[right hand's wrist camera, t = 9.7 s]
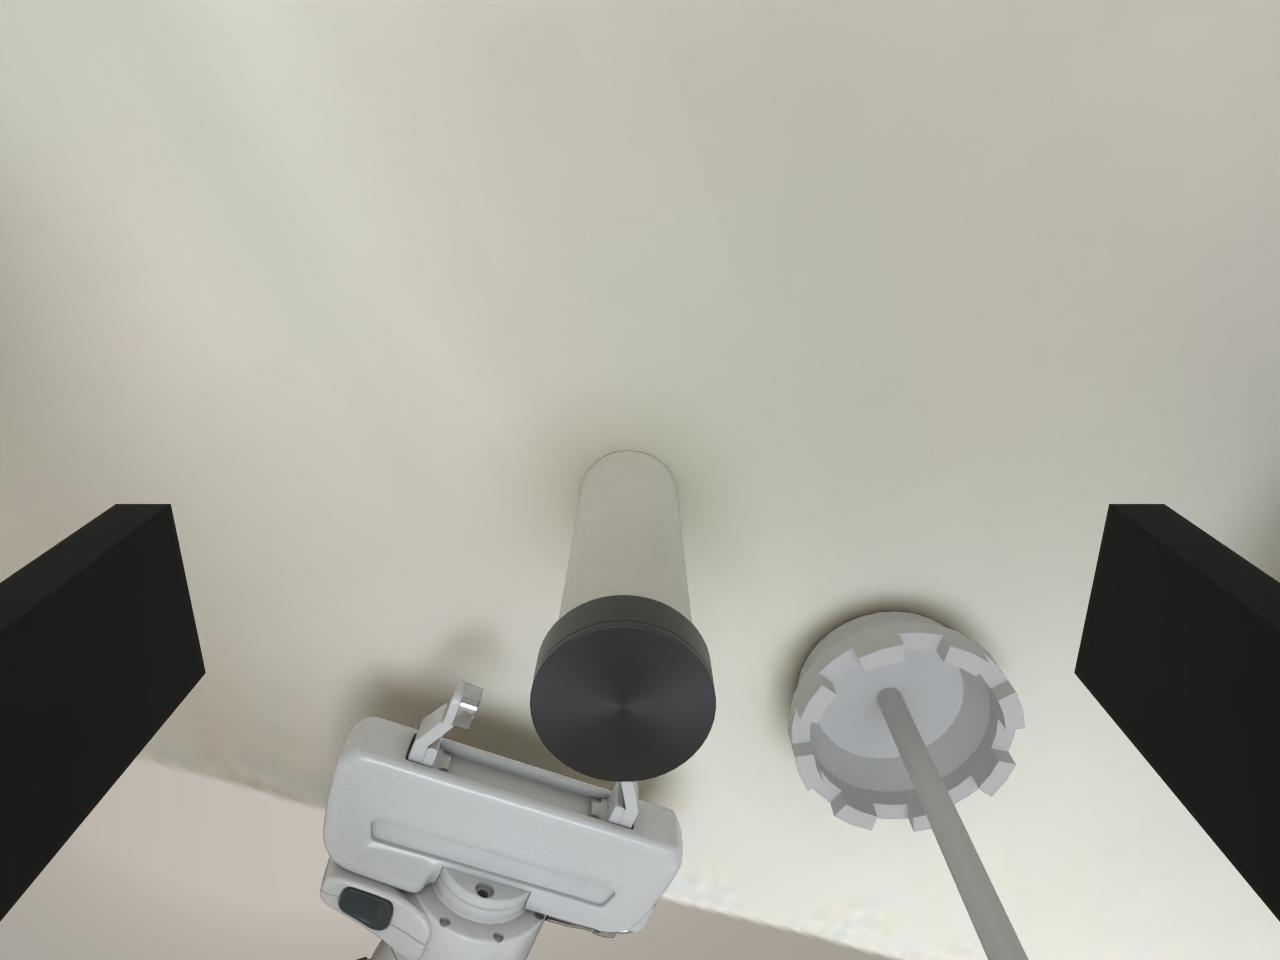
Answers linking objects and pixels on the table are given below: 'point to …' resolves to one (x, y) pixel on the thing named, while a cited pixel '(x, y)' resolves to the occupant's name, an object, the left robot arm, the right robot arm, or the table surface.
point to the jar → (627, 535)
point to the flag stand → (910, 740)
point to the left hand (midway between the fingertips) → (551, 717)
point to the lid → (623, 689)
